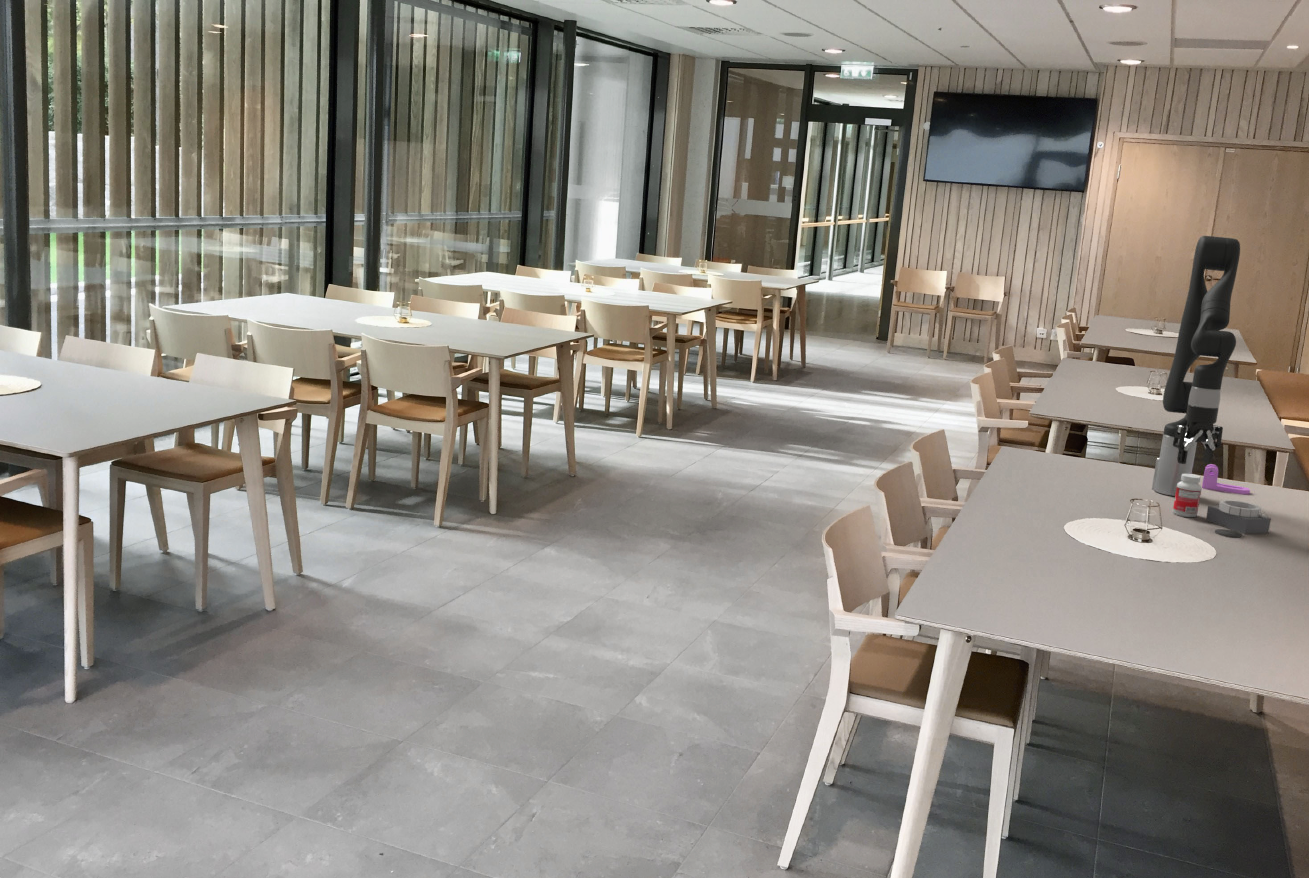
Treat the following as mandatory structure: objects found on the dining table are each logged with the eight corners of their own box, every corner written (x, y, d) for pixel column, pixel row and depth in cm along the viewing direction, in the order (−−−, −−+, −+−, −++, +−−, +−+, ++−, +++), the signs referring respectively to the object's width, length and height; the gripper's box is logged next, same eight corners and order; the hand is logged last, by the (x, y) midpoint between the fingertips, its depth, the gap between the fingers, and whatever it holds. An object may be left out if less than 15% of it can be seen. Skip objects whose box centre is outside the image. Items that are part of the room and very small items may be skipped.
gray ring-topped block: (1203, 520, 304) (1207, 498, 303) (1231, 519, 307) (1234, 497, 306) (1242, 534, 292) (1246, 511, 291) (1270, 532, 295) (1274, 510, 294)
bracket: (1201, 488, 344) (1205, 466, 342) (1202, 485, 349) (1205, 463, 347) (1249, 495, 338) (1253, 473, 337) (1249, 492, 343) (1253, 470, 342)
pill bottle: (1178, 510, 313) (1185, 471, 311) (1200, 516, 308) (1207, 476, 306) (1168, 513, 309) (1174, 474, 307) (1190, 518, 304) (1197, 479, 302)
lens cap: (1208, 532, 293) (1209, 529, 293) (1227, 531, 295) (1228, 528, 295) (1228, 539, 287) (1228, 536, 287) (1247, 538, 289) (1248, 535, 289)
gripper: (1213, 402, 308) (1203, 460, 311) (1172, 401, 303) (1162, 460, 307) (1235, 407, 301) (1225, 466, 304) (1193, 406, 297) (1183, 466, 300)
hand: (1193, 463), depth 305 cm, fingers open, 8 cm apart
